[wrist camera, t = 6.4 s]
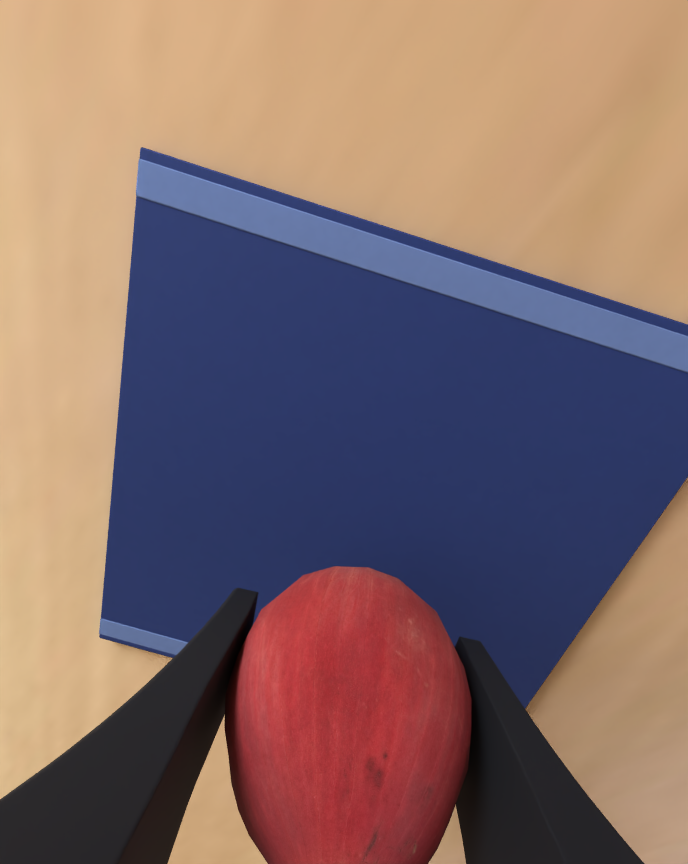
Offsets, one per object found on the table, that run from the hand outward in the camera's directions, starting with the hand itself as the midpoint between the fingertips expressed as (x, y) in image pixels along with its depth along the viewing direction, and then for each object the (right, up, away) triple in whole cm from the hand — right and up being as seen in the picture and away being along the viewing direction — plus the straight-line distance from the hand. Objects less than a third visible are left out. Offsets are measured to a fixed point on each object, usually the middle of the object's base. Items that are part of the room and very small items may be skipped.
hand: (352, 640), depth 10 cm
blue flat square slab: (+1, +2, +4) cm, 5 cm away
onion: (0, +1, +2) cm, 2 cm away
